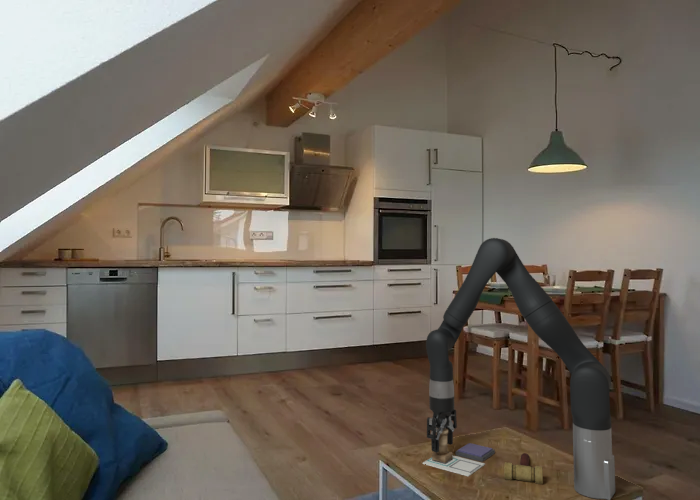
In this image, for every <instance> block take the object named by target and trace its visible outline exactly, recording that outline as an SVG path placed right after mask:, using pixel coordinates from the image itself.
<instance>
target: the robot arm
mask: <svg viewBox="0 0 700 500" xmlns="http://www.w3.org/2000/svg"><path fill="white" fill-rule="evenodd" d="M495 274H497V275H498V276H499V277H500V278H501V280H502V281H503V282H504V283H505V285H506V286H507V288H508V289H509V291H510V293H511V295H512V298H513V300H514V302H515V304H516V307H517V309H518V311H519V313H520V314H521V315H522V317H523V319H524V320H525V321H526V323H527V324H528V326H529V327H530V328H531V330H532V332H534V333H535V334H536V336H538V338H539V339H541V340H542V341H543V342H544V343H545V345H547V346H548V347H549V348H550V349H551V350H553V352H555V353H556V354H557V356H558V357H559V358H560V359H561V361H562V362H563V364H564V366H565V367H566V369H568V371H569V373H570V382H569V389H570V391H569V392H570V393H569V395H570V412H571V416H572V443H573V444H572V446H573V447H572V448H573V451H572V452H573V454H572V455H573V485H574V486H573V488H574V491H576V493H578V494H579V495H581V496H583V497H588V498H591V499H598V500H599V499H601V500H611V499H612V498H613V497H614V494H615V493H616V470H615V467H616V466H615V455H614V454H613V444H612V442H613V441H612V436H613V435H612V416H611V403H610V402H611V401H610V395H611V394H610V388H611V385H612V379H611V374H610V373H609V371H608V370H607V369H606V367H605V366H604V365H603V364H602V363H601V362H600V361H599V359H597V358H596V357H595V355H593V353H592V352H591V350H589V349H588V348H587V346H586V345H585V344H584V343H583V342H582V340H581V339H580V337H579V336H578V335H577V333H576V331H575V329H573V327H572V325H571V324H570V322H569V321H568V319H567V318H566V316H565V315H564V314H563V312H562V311H561V310H560V308H559V307H558V306H557V304H556V303H555V301H553V299H552V298H551V297H550V295H549V294H548V293H547V292H546V290H545V289H544V288H543V287H542V286H541V285H540V283H538V281H537V280H536V279H535V278H534V277H533V275H531V273H530V272H529V271H528V270H527V268H526V266H525V264H524V262H523V261H522V260H521V258H520V256H519V254H518V253H517V252H516V250H515V248H514V246H513V245H512V244H511V243H510V242H509V241H507V240H506V239H502V238H498V237H489V238H488V239H486V240H484V241H483V242H482V243H481V244H480V245H479V248H478V250H477V252H476V255H475V256H474V259H473V261H472V264H471V267H470V268H469V271H468V273H467V275H466V277H465V278H464V280H463V281H462V282H463V283H462V284H461V286H460V288H459V289H458V290H457V293H456V294H455V296H454V297H453V298H452V301H450V302H449V305H448V306H447V308H446V310H445V311H444V314H443V316H442V317H443V320H442V322H441V324H440V325H439V327H438V328H437V329H433V330H432V331H430V332H429V333H428V334H427V337H426V341H425V348H426V355H427V359H428V362H429V384H428V385H429V386H428V387H429V388H428V389H429V393H428V395H429V398H428V399H429V405H428V406H429V410H430V411H432V413H433V415H432V417H427V419H426V438H427V439H430V440H431V443H430V444H431V451H432V453H434V452H439V437H440V434H441V433H442V432H443V429H444V428H446V429H448V434H447V445H450V446H452V445H453V443H454V442H453V441H454V435H453V434H454V431H455V430H456V429H457V427H458V425H457V410H456V409H455V385H454V370H453V369H454V365H453V363H452V361H451V360H450V359H449V351H450V350H451V349H452V348H453V347H454V346H455V344H456V343H457V341H458V339H459V338H460V335H461V332H463V331H462V330H463V329H464V326H465V325H466V324H467V322H468V321H469V319H470V317H471V316H472V314H473V313H474V311H475V310H476V307H477V305H478V304H479V300H480V298H481V296H482V293H483V292H484V290H485V287H486V286H487V284H488V282H489V281H490V280H491V279H492V277H493V276H494V275H495ZM437 428H438V429H437ZM436 432H437V434H436Z"/></svg>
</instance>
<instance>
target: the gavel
mask: <svg viewBox="0 0 700 500" xmlns="http://www.w3.org/2000/svg"><path fill="white" fill-rule="evenodd" d="M503 468H504V472H503V475H504V480H507V481H513V480H516V481H523V482H529V483H532V482H533V483H535V484H536V485H543V484H544V470H543V469H544V468H543V466H539V465H535V466H534V467H532V466H530V455H529V454H528V453H525V452H524V453H522V454H520V460H519V464H513V463H512V462H507V461H505V462H504V467H503Z"/></svg>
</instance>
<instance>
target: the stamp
mask: <svg viewBox="0 0 700 500" xmlns="http://www.w3.org/2000/svg"><path fill="white" fill-rule="evenodd" d="M437 429H438V428H437ZM447 434H448V429H446V428H444V429H443V432H442V433H441V434H440V437H439V452H432V453H431V458H432V461H435V462H439V463H443V464H447V463H448V462H450V461H451V460H453V457H452V455H453V452H452V451H449V450H448V449H449V448H448V444H447ZM436 435H437V432H436Z"/></svg>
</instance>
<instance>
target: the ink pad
mask: <svg viewBox="0 0 700 500" xmlns="http://www.w3.org/2000/svg"><path fill="white" fill-rule="evenodd" d="M495 452H496V450H495V449H494V448H492V447H487V446H483V445H479V444H475V443H470V442H469V443H467V444H465V445H464V446H462V447H460V448H459V449H457V450H456V451H455V456H457V457H461V458H465V459H469V460H473V461H477V462H481V463H484V462H485V461H486V460H488V459H489V458H490V457H492V456H493V455H494V454H496V453H495Z"/></svg>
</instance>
